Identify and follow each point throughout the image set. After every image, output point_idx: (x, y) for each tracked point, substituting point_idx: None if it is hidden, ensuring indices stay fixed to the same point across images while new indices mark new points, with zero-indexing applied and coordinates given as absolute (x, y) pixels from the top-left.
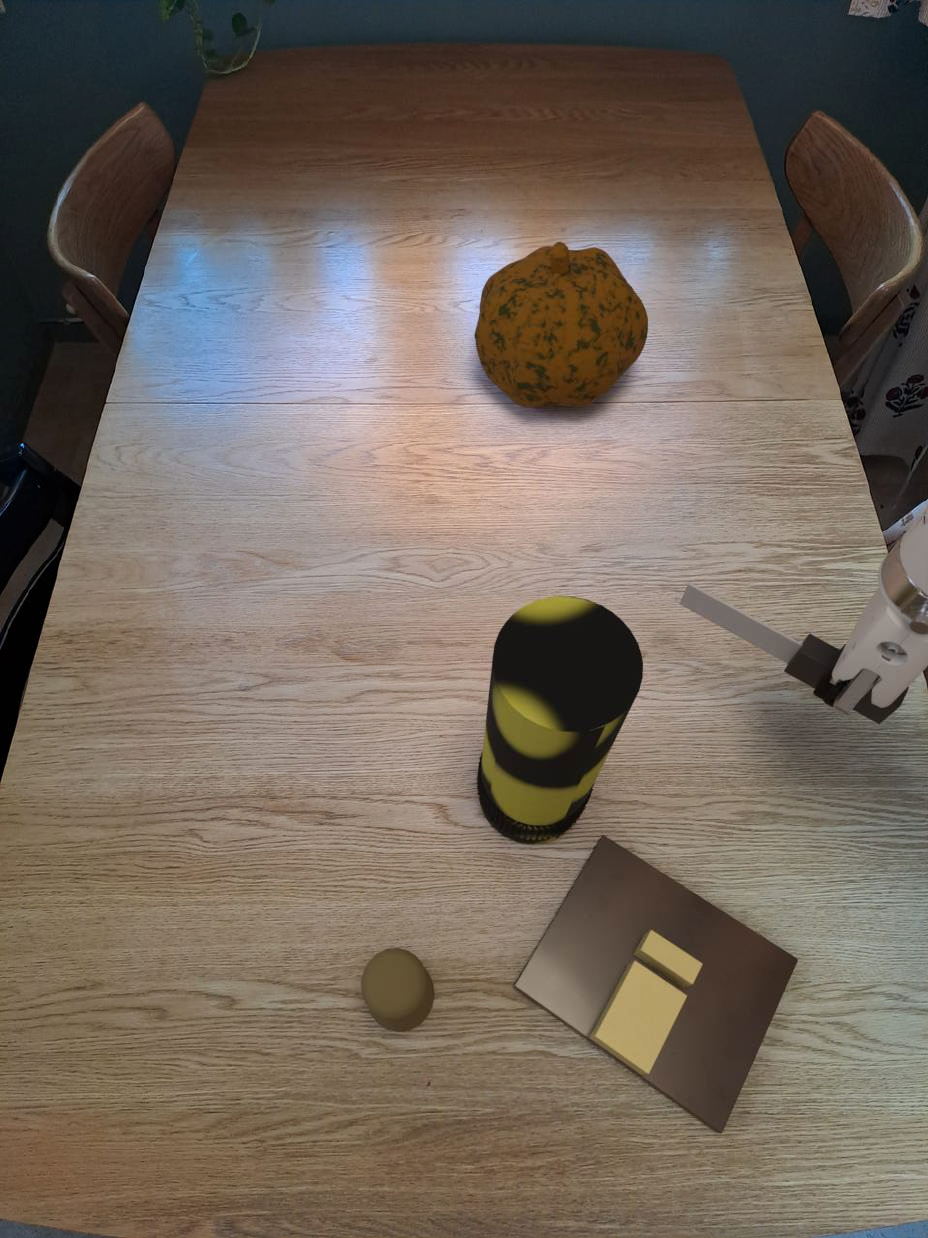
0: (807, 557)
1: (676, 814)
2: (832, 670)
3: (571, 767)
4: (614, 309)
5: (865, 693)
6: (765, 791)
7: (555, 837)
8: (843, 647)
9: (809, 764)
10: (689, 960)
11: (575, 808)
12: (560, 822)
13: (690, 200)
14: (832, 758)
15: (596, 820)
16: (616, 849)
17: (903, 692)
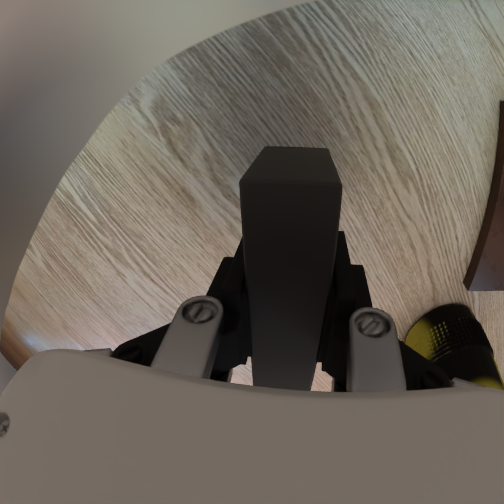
0: (98, 235)
1: (429, 239)
2: (322, 368)
3: None
4: None
5: (400, 353)
6: (369, 167)
7: (471, 312)
8: (243, 363)
9: (309, 133)
10: None
11: (490, 360)
12: (490, 349)
13: (28, 354)
14: (284, 112)
15: (450, 291)
16: (476, 278)
17: (277, 193)
